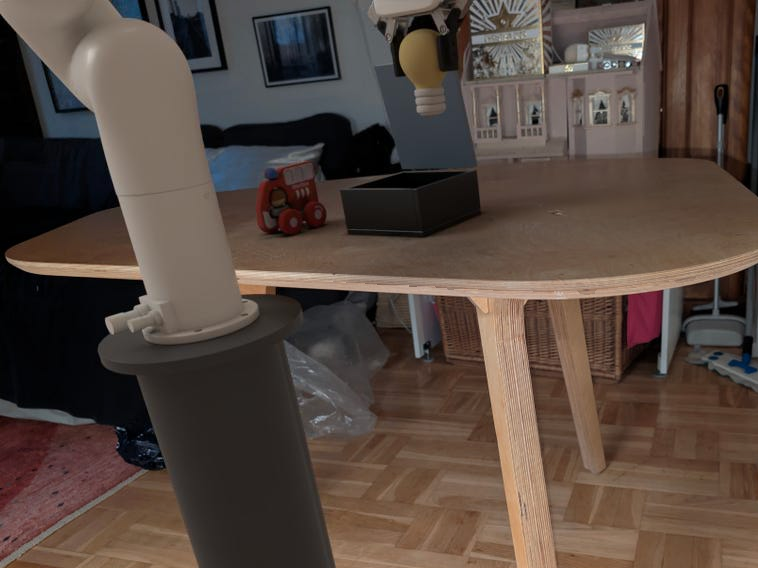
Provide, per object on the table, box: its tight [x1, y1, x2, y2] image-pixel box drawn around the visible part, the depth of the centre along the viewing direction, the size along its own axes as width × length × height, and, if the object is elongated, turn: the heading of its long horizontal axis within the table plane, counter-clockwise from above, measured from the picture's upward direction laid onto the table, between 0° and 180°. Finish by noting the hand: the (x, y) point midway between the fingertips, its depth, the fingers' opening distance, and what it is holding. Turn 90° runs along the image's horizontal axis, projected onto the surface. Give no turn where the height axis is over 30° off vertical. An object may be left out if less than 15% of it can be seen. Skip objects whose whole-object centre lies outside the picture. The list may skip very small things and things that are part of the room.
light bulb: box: [399, 28, 447, 116], centre depth 88 cm, size 6×6×10 cm
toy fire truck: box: [255, 160, 328, 235], centre depth 114 cm, size 7×12×10 cm, turn 144°
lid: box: [373, 62, 478, 170], centre depth 110 cm, size 16×15×5 cm
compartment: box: [339, 169, 482, 238], centre depth 108 cm, size 16×15×7 cm
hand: (426, 72), depth 88 cm, fingers closed on light bulb, 6 cm apart
